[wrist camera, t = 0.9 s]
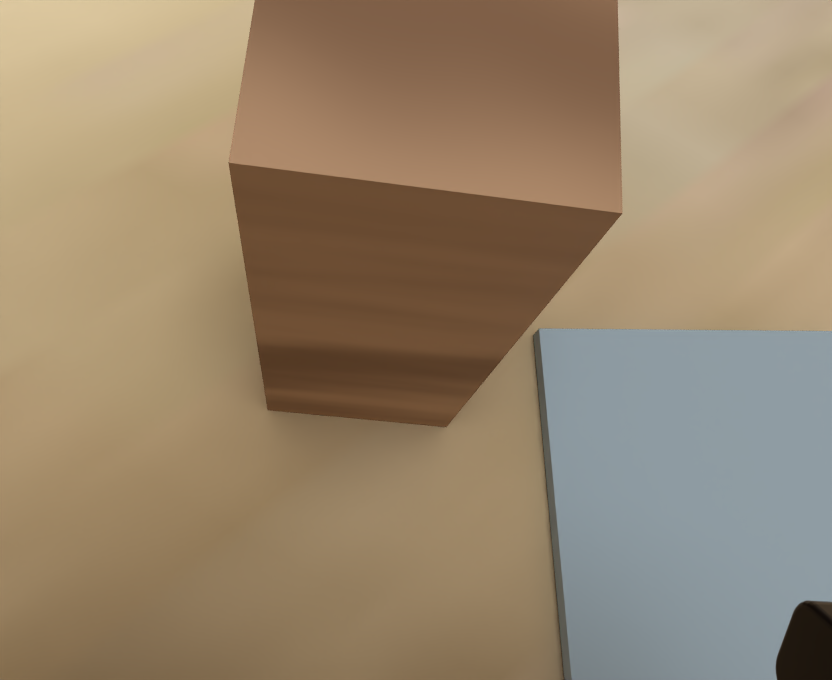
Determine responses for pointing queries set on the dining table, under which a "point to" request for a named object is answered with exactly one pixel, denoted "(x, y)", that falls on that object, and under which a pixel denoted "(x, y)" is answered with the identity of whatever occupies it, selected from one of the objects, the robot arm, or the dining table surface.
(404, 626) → the dining table surface
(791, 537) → the slate mat
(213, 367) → the dining table surface
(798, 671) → the robot arm
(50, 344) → the dining table surface
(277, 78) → the walnut block
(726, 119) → the dining table surface
